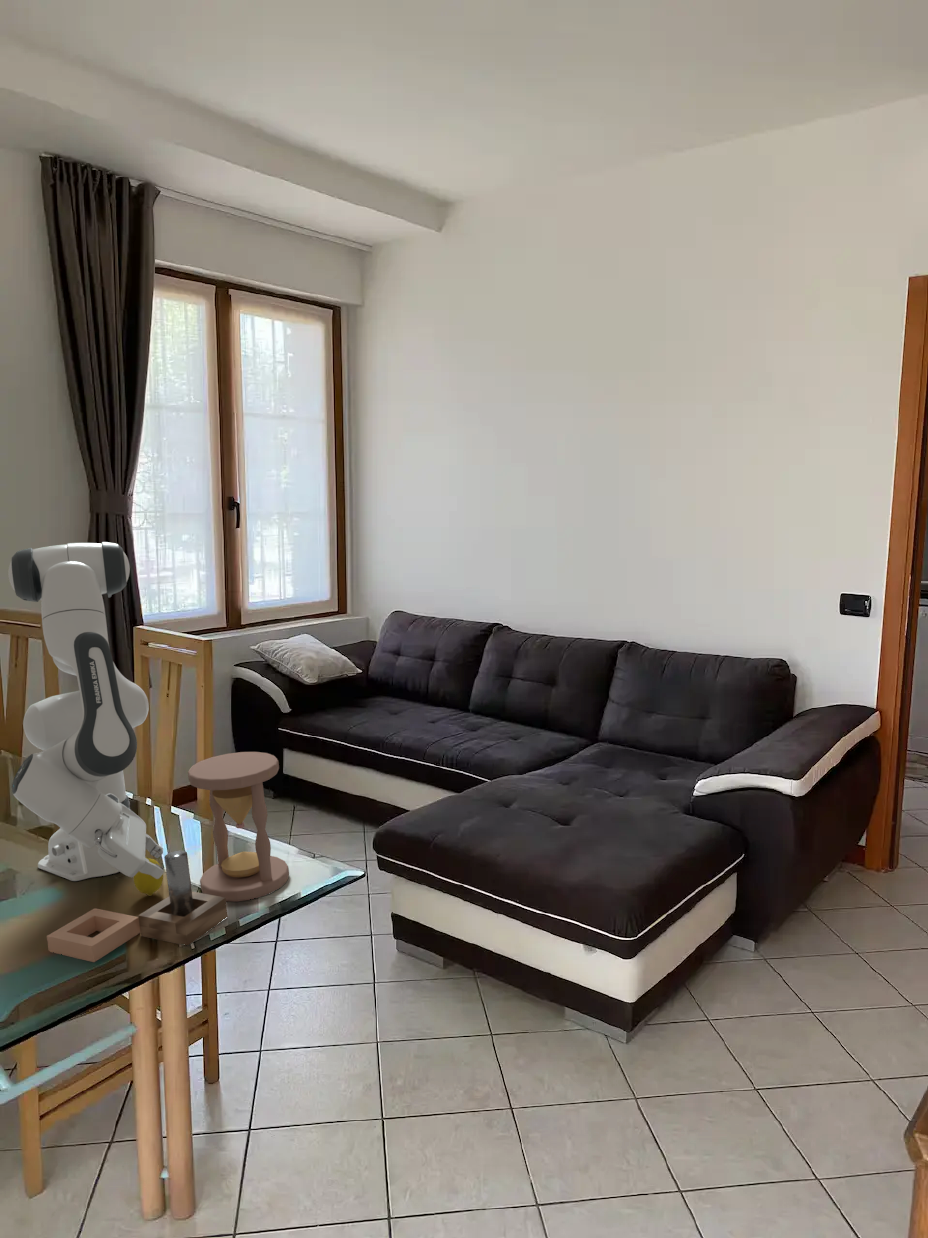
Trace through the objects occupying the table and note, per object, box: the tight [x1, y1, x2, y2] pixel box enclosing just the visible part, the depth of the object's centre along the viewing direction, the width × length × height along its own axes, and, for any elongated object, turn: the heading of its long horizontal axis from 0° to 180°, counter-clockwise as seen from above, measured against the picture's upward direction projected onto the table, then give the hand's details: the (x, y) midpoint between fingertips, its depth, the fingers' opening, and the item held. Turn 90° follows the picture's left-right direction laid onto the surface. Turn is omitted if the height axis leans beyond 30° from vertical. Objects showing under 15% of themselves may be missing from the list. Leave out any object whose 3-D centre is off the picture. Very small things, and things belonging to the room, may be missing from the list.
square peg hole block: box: [137, 891, 229, 946], centre depth 172 cm, size 11×11×4 cm
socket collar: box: [46, 907, 140, 963], centre depth 168 cm, size 11×11×3 cm
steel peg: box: [164, 850, 194, 917], centre depth 171 cm, size 4×4×12 cm
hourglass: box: [187, 751, 290, 903], centre depth 187 cm, size 18×18×25 cm
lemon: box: [133, 856, 164, 896], centre depth 185 cm, size 6×6×8 cm
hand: (161, 864), depth 169 cm, fingers open, 8 cm apart
